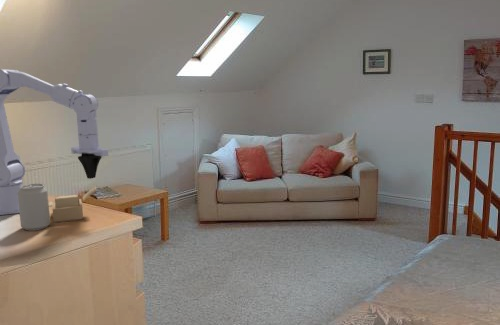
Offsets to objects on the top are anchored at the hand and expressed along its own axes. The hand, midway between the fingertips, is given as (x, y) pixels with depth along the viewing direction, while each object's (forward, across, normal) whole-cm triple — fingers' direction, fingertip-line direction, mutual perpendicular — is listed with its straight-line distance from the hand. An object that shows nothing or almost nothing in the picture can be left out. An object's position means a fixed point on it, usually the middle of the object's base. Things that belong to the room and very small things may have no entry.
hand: (91, 177), depth 146 cm
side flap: (+4, +1, -2) cm, 5 cm away
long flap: (+4, +5, -13) cm, 14 cm away
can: (+11, 0, -20) cm, 23 cm away
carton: (+10, -4, -9) cm, 14 cm away
